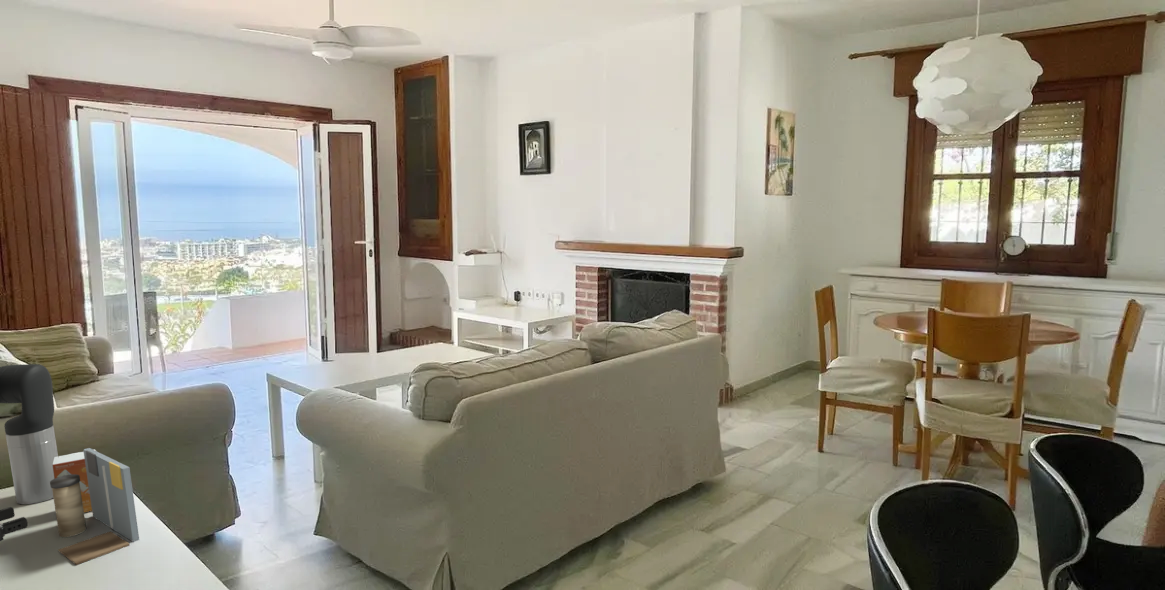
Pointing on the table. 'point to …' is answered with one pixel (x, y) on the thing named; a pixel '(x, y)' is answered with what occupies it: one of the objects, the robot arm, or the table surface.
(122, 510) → the panel
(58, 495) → the post
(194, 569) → the table surface
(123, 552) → the table surface
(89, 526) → the table surface
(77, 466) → the small box
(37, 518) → the table surface
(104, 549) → the walnut pad
